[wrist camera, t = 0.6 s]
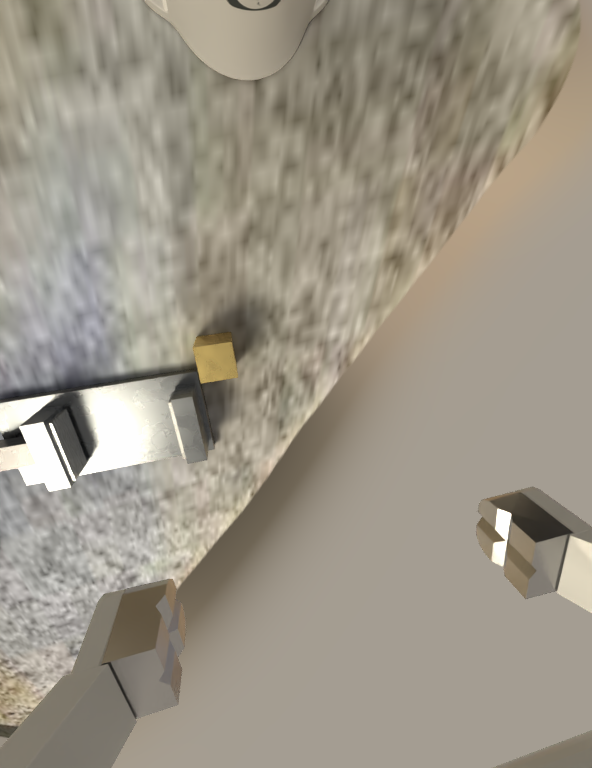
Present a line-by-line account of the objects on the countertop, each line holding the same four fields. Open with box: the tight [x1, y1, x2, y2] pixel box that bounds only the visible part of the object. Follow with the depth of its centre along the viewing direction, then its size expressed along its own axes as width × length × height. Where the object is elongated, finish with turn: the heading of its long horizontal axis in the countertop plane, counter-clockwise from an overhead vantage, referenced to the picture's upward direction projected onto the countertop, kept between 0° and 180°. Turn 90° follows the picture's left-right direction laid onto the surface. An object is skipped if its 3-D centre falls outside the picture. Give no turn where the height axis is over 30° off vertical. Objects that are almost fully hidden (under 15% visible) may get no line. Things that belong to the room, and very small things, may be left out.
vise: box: [0, 368, 215, 486], centre depth 44 cm, size 12×25×6 cm, turn 96°
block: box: [193, 332, 238, 383], centre depth 43 cm, size 4×4×6 cm
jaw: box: [0, 405, 88, 491], centre depth 41 cm, size 9×10×5 cm
